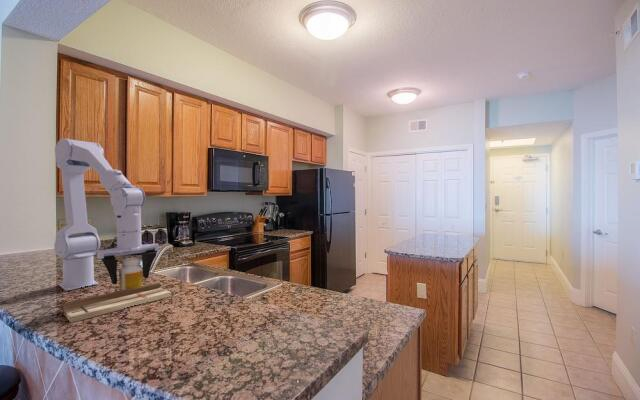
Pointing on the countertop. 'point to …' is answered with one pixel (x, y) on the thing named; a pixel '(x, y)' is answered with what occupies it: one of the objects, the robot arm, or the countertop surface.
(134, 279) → the supplement bottle
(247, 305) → the countertop surface
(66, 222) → the robot arm
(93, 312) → the board
